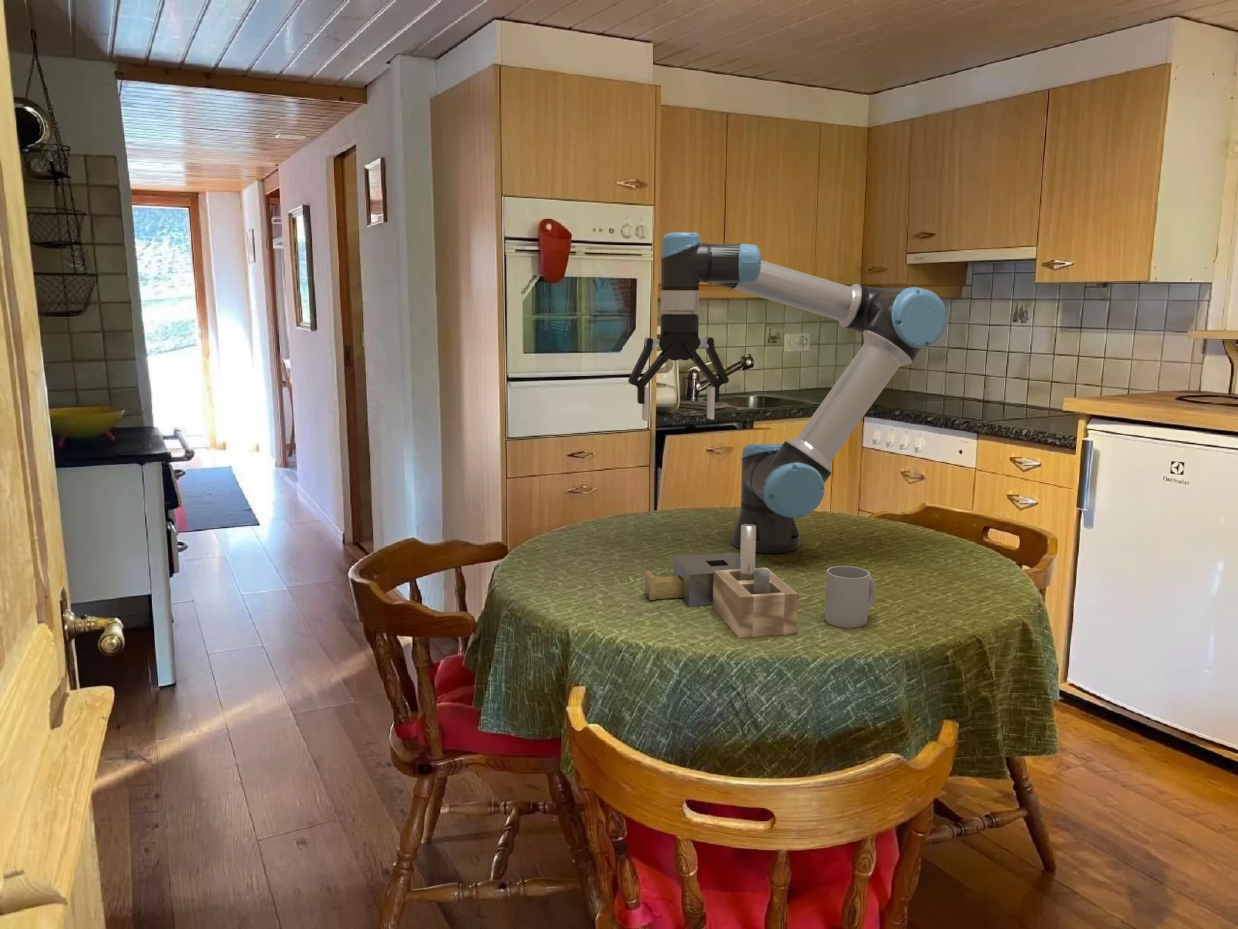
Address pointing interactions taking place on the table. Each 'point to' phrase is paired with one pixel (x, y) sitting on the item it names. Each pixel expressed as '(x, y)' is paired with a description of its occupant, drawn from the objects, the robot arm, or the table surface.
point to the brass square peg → (663, 586)
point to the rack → (755, 603)
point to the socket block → (702, 574)
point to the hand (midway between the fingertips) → (678, 419)
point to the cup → (848, 596)
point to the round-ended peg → (747, 551)
